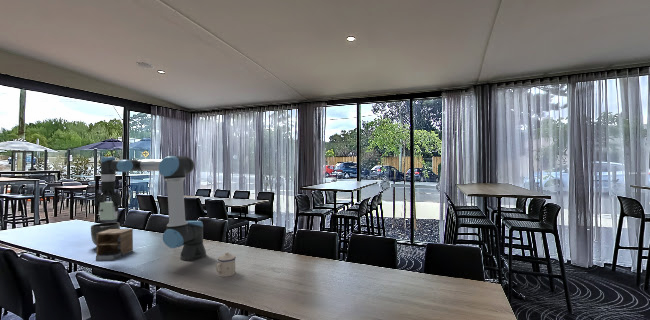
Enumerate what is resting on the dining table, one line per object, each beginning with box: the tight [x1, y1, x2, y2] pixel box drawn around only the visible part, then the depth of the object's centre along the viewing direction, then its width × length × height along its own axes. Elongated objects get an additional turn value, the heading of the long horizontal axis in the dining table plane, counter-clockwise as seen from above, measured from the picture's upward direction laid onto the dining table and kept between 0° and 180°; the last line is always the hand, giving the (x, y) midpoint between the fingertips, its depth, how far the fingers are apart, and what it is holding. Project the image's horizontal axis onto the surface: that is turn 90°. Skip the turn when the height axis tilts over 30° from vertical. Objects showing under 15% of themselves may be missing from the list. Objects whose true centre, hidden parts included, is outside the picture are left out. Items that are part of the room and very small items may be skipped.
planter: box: [90, 221, 121, 246], centre depth 218 cm, size 17×17×16 cm
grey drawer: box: [95, 237, 124, 262], centre depth 191 cm, size 11×9×12 cm
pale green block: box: [99, 201, 118, 221], centre depth 190 cm, size 8×5×11 cm, turn 90°
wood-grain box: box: [95, 228, 134, 256], centre depth 201 cm, size 16×12×15 cm
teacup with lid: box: [215, 251, 236, 278], centre depth 161 cm, size 12×9×12 cm
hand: (108, 216), depth 190 cm, fingers closed on pale green block, 8 cm apart
